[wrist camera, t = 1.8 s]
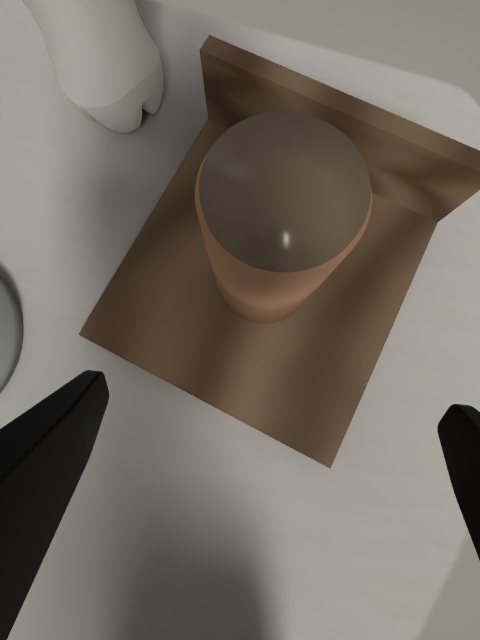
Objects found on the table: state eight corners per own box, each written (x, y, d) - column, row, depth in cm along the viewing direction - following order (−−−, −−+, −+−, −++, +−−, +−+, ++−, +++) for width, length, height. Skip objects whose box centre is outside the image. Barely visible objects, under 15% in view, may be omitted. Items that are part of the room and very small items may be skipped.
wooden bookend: (435, 215, 23) (502, 160, 17) (325, 463, 20) (361, 500, 14) (216, 116, 24) (209, 35, 19) (85, 336, 22) (27, 322, 16)
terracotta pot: (326, 257, 22) (404, 150, 11) (285, 340, 21) (330, 307, 10) (242, 217, 22) (244, 80, 12) (199, 296, 21) (159, 223, 11)
